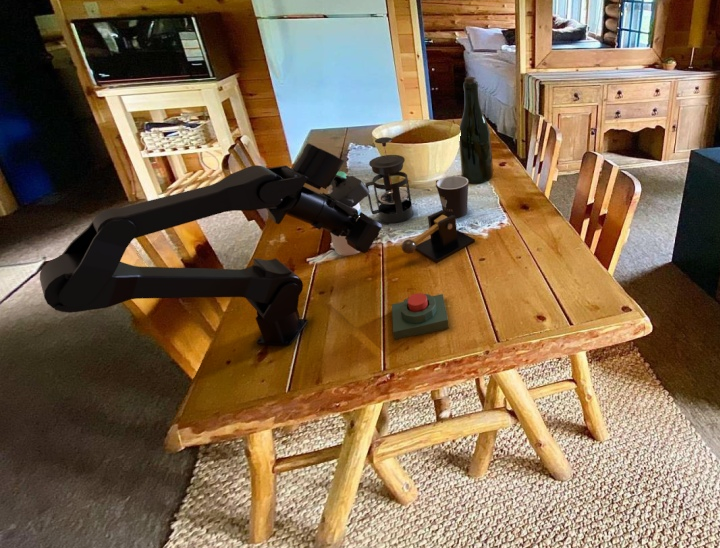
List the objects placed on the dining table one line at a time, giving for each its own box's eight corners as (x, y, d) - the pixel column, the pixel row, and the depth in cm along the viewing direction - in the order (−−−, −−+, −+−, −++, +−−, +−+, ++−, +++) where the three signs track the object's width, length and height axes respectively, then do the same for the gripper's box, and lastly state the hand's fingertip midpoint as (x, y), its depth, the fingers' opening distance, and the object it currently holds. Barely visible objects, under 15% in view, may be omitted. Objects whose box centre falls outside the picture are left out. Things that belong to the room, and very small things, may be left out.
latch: (409, 258, 100) (405, 247, 98) (401, 253, 102) (396, 242, 100) (452, 226, 107) (449, 216, 105) (444, 222, 109) (440, 212, 107)
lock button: (409, 314, 83) (407, 307, 82) (408, 302, 86) (406, 295, 85) (428, 310, 84) (427, 302, 83) (426, 298, 87) (425, 291, 86)
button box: (394, 340, 82) (391, 324, 80) (393, 312, 88) (390, 297, 87) (449, 328, 84) (446, 312, 83) (443, 302, 91) (441, 286, 89)
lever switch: (436, 264, 103) (432, 232, 99) (414, 250, 108) (409, 219, 104) (475, 243, 111) (472, 212, 107) (452, 231, 116) (449, 201, 112)
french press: (410, 205, 130) (398, 130, 119) (421, 218, 123) (409, 140, 112) (369, 215, 124) (353, 138, 113) (378, 230, 117) (361, 149, 106)
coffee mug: (474, 218, 122) (471, 186, 118) (443, 224, 119) (439, 191, 115) (464, 200, 132) (462, 170, 127) (436, 205, 129) (432, 174, 125)
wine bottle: (466, 186, 141) (457, 82, 126) (458, 174, 149) (448, 75, 134) (497, 180, 145) (492, 79, 130) (488, 169, 153) (481, 72, 138)
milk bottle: (357, 258, 105) (339, 183, 96) (328, 255, 107) (308, 180, 98) (374, 241, 112) (359, 169, 103) (347, 238, 113) (330, 166, 104)
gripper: (362, 183, 77) (422, 215, 89) (313, 158, 87) (373, 189, 100) (328, 240, 75) (394, 265, 87) (282, 207, 86) (347, 233, 98)
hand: (377, 235), depth 93 cm, fingers closed
